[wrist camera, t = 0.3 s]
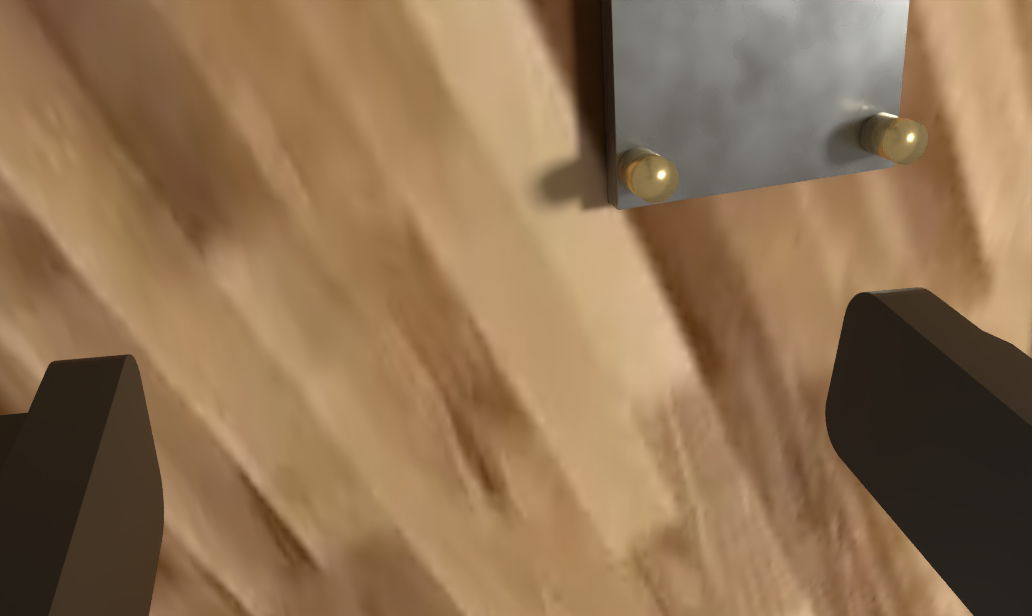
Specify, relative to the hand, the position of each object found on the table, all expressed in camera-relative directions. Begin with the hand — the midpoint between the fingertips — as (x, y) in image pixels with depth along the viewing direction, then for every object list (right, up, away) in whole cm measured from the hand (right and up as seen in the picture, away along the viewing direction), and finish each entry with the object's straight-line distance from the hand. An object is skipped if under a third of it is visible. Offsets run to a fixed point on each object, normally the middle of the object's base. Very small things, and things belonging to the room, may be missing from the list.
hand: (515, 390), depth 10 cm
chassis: (+10, +12, +28) cm, 32 cm away
